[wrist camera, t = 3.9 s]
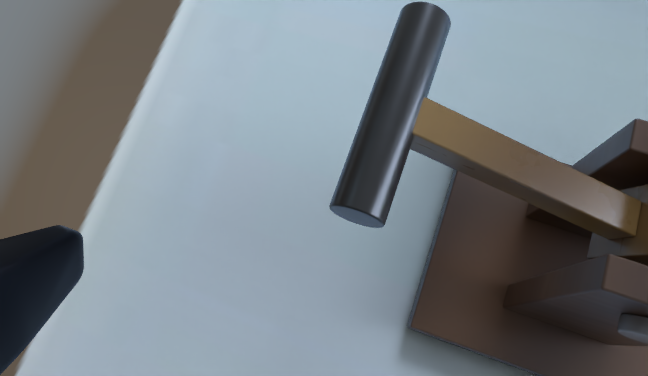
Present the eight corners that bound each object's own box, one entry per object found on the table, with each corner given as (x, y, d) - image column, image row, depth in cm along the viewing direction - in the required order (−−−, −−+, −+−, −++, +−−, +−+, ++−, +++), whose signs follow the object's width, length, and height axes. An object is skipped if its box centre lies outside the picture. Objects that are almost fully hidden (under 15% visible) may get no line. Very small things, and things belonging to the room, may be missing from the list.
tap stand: (406, 327, 21) (452, 321, 12) (461, 142, 24) (534, 25, 15) (670, 423, 20) (937, 495, 11) (701, 217, 22) (942, 137, 13)
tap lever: (318, 212, 13) (343, 198, 11) (386, 28, 15) (421, -18, 12) (647, 350, 15) (728, 363, 13) (677, 174, 17) (754, 157, 14)
